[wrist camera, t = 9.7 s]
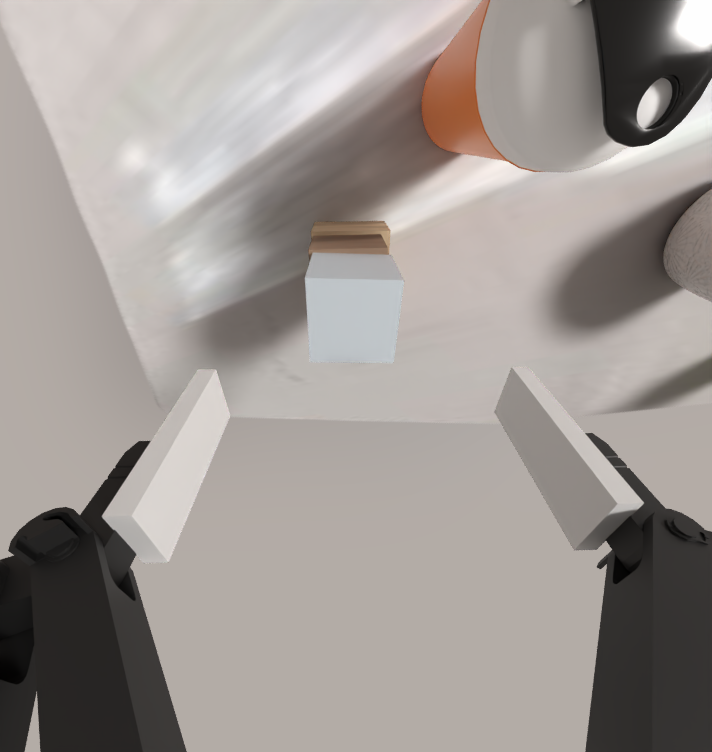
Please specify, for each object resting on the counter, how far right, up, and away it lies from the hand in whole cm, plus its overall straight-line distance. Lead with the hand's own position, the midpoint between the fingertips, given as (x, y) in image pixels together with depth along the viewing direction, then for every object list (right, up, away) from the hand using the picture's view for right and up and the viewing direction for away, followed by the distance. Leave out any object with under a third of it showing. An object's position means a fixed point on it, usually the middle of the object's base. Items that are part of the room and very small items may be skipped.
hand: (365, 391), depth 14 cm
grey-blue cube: (-1, +8, +11) cm, 13 cm away
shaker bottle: (+9, +24, +12) cm, 28 cm away
